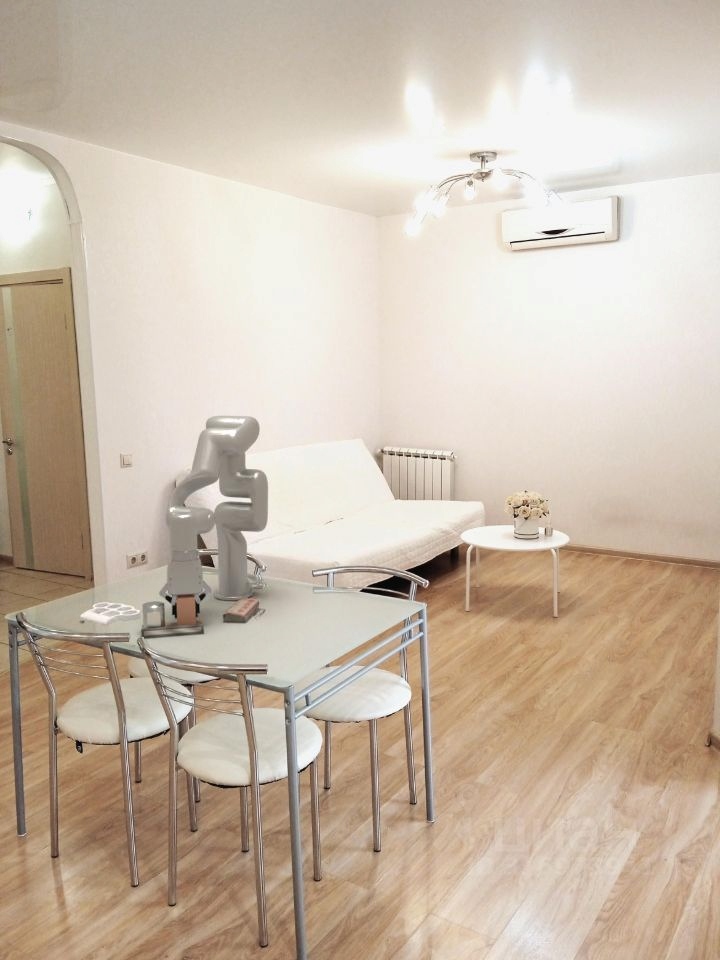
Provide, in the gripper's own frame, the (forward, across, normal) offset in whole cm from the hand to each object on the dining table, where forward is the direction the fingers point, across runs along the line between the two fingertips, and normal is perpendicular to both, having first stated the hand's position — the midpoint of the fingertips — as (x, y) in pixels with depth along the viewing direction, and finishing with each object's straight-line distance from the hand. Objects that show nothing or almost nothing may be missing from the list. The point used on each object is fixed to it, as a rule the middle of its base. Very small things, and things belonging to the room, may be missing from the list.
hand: (186, 615), depth 234 cm
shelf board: (+4, +4, +2) cm, 6 cm away
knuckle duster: (+5, +21, -16) cm, 27 cm away
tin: (+3, +9, +3) cm, 10 cm away
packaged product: (+5, -16, -6) cm, 18 cm away
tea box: (+3, 0, 0) cm, 3 cm away
